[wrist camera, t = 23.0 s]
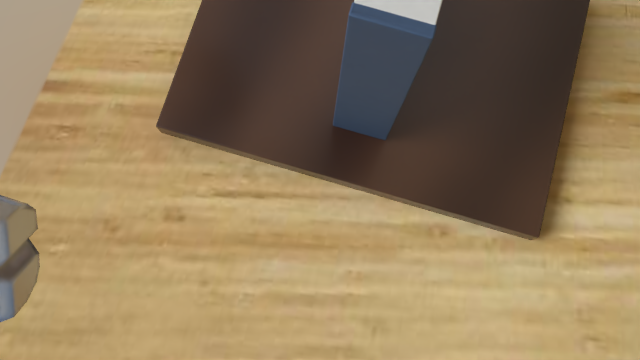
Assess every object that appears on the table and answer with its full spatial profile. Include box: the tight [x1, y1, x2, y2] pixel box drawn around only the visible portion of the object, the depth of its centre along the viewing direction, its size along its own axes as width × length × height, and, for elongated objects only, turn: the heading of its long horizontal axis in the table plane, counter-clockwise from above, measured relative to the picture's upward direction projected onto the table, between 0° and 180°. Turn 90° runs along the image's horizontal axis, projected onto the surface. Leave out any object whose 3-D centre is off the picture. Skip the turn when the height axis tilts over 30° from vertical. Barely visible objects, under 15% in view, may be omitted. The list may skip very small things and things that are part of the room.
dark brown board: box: [156, 0, 590, 240], centre depth 35 cm, size 22×15×1 cm
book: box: [333, 0, 443, 140], centre depth 28 cm, size 3×9×13 cm, turn 164°
